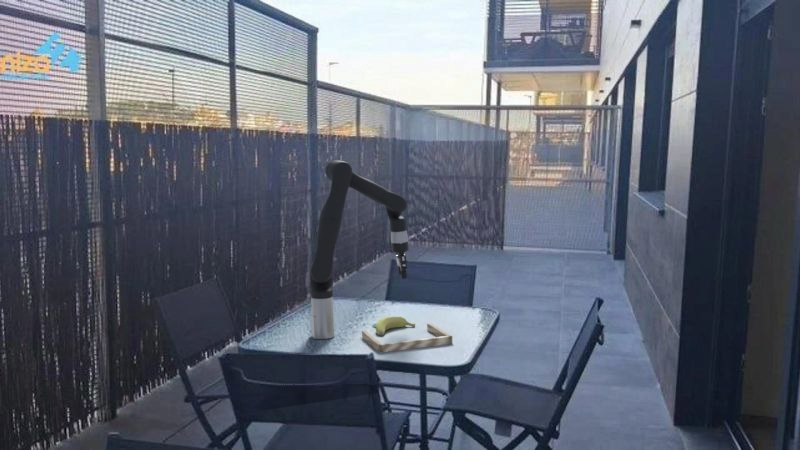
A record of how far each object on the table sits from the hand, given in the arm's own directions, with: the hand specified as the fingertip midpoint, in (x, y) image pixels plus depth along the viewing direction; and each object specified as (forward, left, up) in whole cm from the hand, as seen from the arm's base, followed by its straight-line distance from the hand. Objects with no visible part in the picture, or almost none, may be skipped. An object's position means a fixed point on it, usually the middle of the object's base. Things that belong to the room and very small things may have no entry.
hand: (402, 276), depth 310 cm
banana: (-6, -7, -23) cm, 25 cm away
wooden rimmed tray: (-8, -24, -22) cm, 34 cm away
